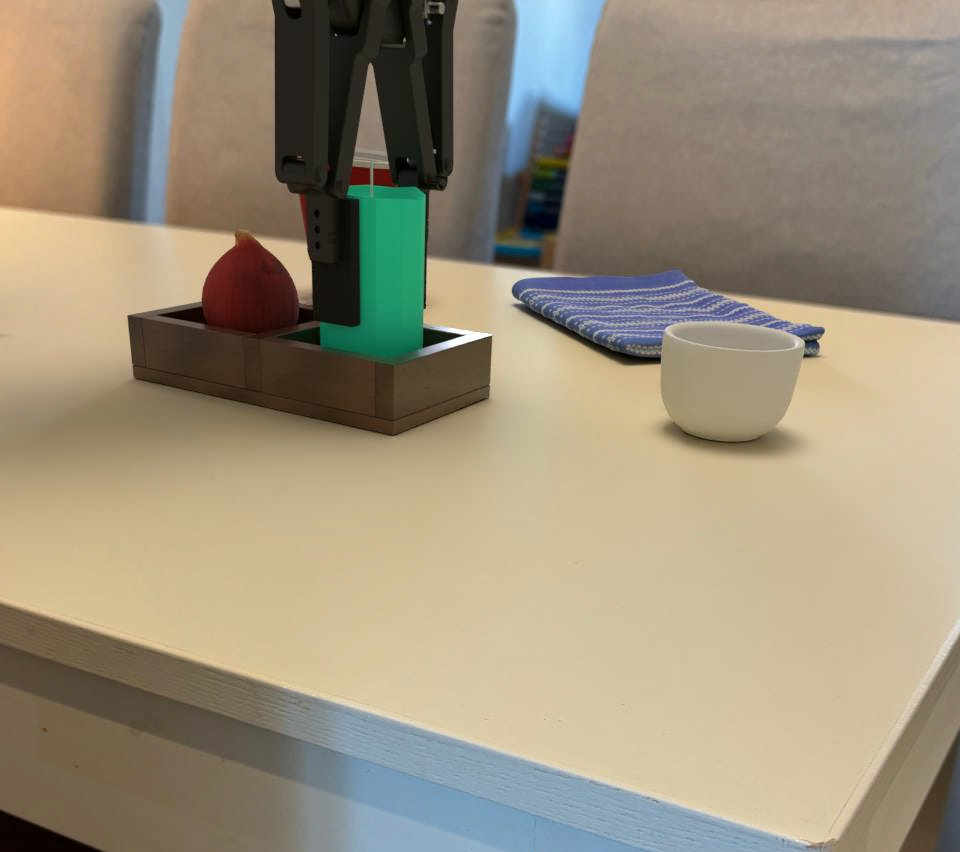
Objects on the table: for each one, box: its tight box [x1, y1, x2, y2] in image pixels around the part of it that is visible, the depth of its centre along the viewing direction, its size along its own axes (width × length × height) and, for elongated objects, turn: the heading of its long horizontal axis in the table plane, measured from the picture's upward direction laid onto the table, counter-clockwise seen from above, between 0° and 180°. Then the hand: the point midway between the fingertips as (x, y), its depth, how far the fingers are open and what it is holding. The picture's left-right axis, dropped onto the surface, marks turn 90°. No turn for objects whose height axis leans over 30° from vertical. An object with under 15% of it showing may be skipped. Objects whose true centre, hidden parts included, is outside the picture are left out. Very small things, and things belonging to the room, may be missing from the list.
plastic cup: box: [297, 146, 408, 265], centre depth 93 cm, size 11×11×12 cm
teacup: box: [659, 322, 805, 443], centre depth 63 cm, size 10×8×5 cm
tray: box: [126, 300, 493, 436], centre depth 67 cm, size 20×10×4 cm, turn 59°
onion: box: [201, 228, 300, 334], centre depth 68 cm, size 6×6×8 cm
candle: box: [320, 161, 426, 359], centre depth 63 cm, size 6×6×12 cm
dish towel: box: [511, 269, 826, 358], centre depth 89 cm, size 17×24×3 cm
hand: (371, 313), depth 64 cm, fingers closed on candle, 6 cm apart
